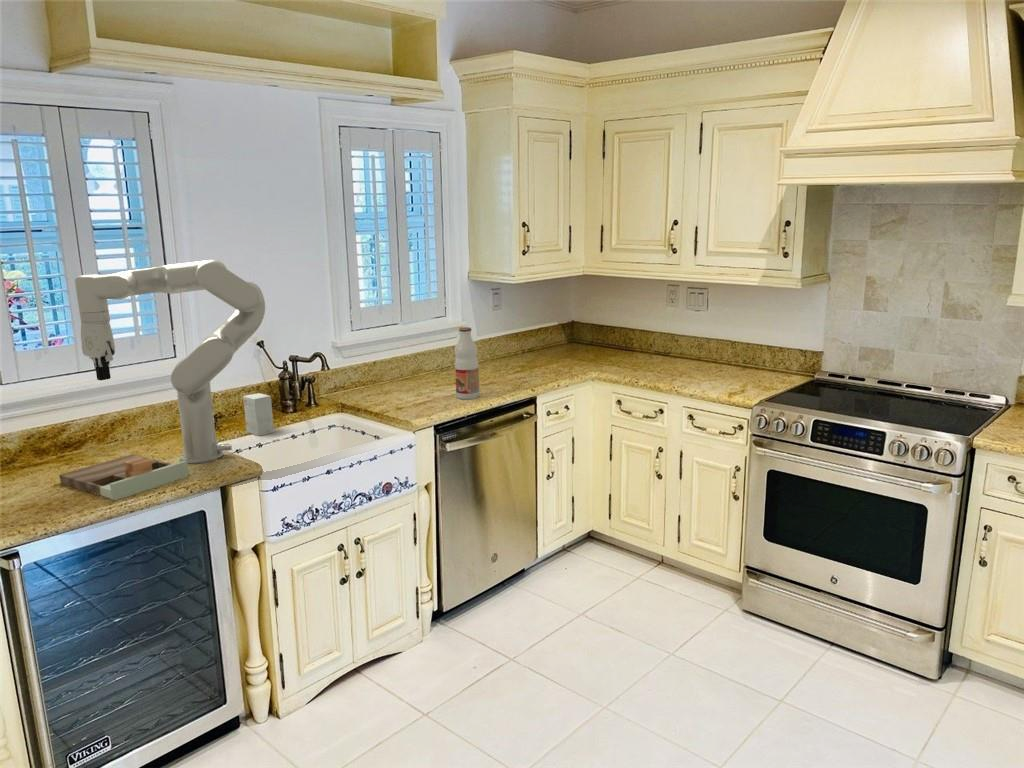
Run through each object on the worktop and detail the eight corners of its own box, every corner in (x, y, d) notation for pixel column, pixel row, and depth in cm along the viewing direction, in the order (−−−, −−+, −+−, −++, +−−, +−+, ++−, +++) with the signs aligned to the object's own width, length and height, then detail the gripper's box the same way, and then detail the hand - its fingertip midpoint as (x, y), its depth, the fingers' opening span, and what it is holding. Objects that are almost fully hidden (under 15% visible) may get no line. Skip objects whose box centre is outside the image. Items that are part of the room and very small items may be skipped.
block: (126, 479, 213) (123, 462, 212) (143, 474, 217) (141, 457, 216) (136, 482, 210) (133, 464, 209) (153, 477, 214) (151, 459, 213)
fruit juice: (479, 399, 304) (476, 329, 298) (455, 400, 304) (452, 330, 298) (480, 394, 313) (477, 326, 307) (456, 394, 313) (453, 326, 307)
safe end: (100, 495, 208) (98, 480, 207) (174, 472, 226) (172, 457, 225) (115, 500, 204) (112, 484, 203) (188, 476, 222) (187, 461, 221)
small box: (274, 432, 266) (271, 395, 263) (258, 436, 261) (254, 399, 259) (262, 428, 271) (259, 392, 268) (246, 432, 267) (242, 395, 264)
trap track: (60, 483, 219) (59, 474, 219) (133, 461, 237) (132, 454, 237) (100, 495, 208) (99, 487, 207) (174, 472, 226) (173, 464, 225)
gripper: (68, 318, 224) (77, 379, 228) (96, 320, 216) (105, 384, 220) (93, 314, 230) (102, 374, 234) (122, 317, 222) (130, 379, 226)
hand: (104, 379), depth 227 cm, fingers closed
